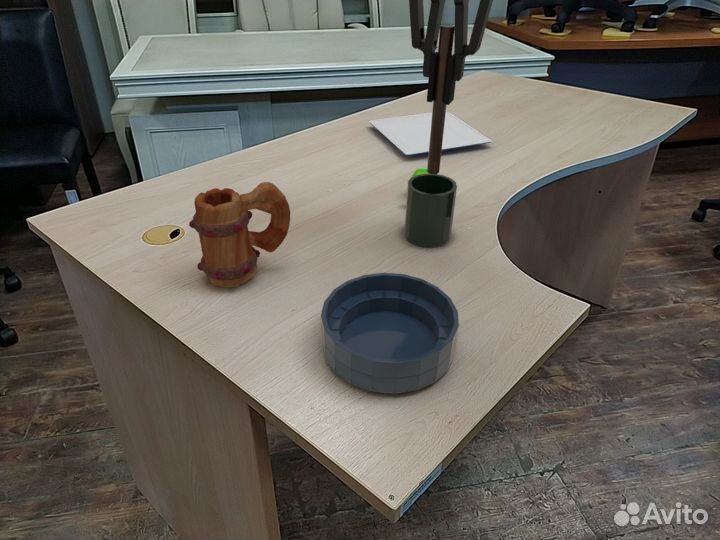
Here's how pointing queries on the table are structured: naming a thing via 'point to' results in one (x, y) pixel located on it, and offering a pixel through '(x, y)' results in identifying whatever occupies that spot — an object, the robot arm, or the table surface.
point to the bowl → (389, 332)
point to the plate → (427, 133)
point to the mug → (237, 231)
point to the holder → (429, 209)
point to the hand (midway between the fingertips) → (440, 100)
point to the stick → (440, 98)
